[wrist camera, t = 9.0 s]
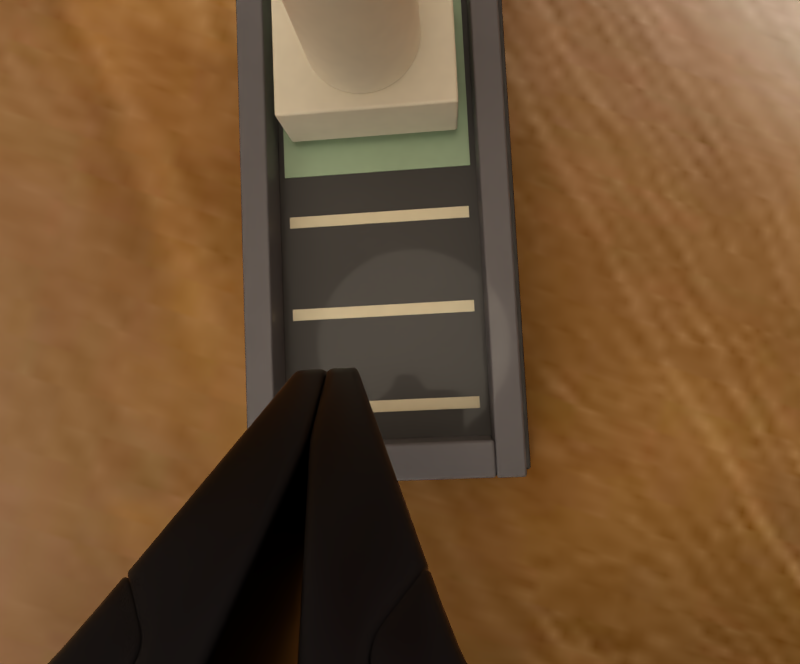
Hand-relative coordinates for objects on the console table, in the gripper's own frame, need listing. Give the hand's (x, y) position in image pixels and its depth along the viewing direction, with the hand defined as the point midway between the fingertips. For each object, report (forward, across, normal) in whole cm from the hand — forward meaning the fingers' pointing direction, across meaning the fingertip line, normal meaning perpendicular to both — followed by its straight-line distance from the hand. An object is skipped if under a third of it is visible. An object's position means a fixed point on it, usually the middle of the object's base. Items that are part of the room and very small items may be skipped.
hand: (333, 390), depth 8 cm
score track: (+9, 0, +2) cm, 9 cm away
